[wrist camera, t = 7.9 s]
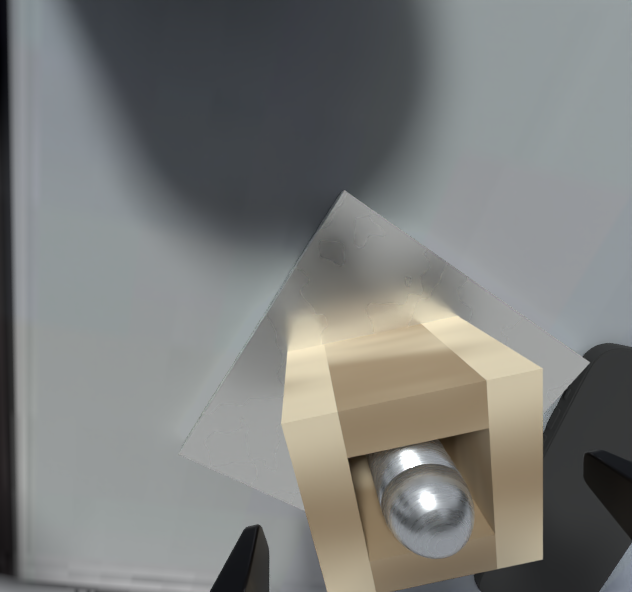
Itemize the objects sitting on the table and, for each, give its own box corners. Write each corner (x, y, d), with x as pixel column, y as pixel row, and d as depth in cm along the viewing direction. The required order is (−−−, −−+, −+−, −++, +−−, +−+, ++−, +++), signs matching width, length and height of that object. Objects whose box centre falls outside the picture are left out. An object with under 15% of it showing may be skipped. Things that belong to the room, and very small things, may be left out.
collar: (469, 456, 13) (542, 559, 9) (321, 487, 13) (331, 604, 9) (457, 316, 11) (542, 368, 7) (287, 351, 11) (280, 423, 7)
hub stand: (403, 537, 15) (472, 746, 9) (187, 436, 13) (90, 625, 7) (568, 351, 13) (803, 468, 7) (340, 192, 11) (392, 159, 5)
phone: (470, 594, 16) (601, 342, 12) (462, 576, 17) (582, 334, 13) (590, 607, 17) (745, 375, 13) (576, 589, 18) (719, 365, 14)
